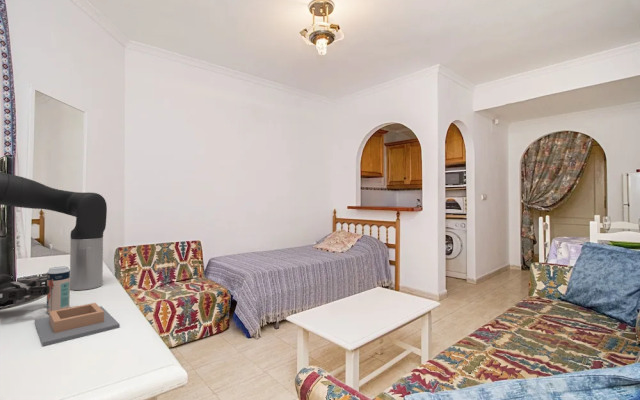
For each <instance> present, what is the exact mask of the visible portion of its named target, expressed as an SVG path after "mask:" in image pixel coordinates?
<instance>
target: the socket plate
mask: <svg viewBox="0 0 640 400" xmlns="http://www.w3.org/2000/svg"><path fill="white" fill-rule="evenodd" d="M34 325H35V328H36V330H37V334H38V336H39V339H40V343H41V346H42V347H45V346H50V345H54V344H58V343H62V342H66V341H70V340H74V339H78V338H81V337H82V338H83V337H86V336H90V335H95V334H99V333H103V332H107V331H110V330H114V329H118V328H120V322H118V321H117V320H116V319H115V318H114V317H113V316H112V315H111V314H110V313H109V312H108V311H107V310H106V309H105V308H104V307H103V306H101V305H98V304H97V303H96V302H92V303H86V304H81V305H76V306H72V307H70V306H69V308H65V309H60V310H54V311H49V313H48V316H45V317H41V318H36V319H34Z"/></svg>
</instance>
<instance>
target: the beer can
mask: <svg viewBox="0 0 640 400" xmlns="http://www.w3.org/2000/svg"><path fill="white" fill-rule="evenodd" d="M46 277H47V286H49V287H50V291H49V294H47V295H46V313H48V314H49V311H54V310H60V309H65V308H70V298H71V297H70V296H71V295H70V291H71V289H70V267H69V266H53V267H50V268H49V269H48V271H47V272H46Z"/></svg>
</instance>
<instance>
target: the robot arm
mask: <svg viewBox="0 0 640 400" xmlns="http://www.w3.org/2000/svg"><path fill="white" fill-rule="evenodd" d="M0 205H1V206H9V207H13V208H23V209H35V210H36V209H38V210H48V211H51V212H56V213H61V214H64V215H68V216H71V217H75V226H74V228H73V229H72V230H71V231H70V240H69V241H70V245H69V247H70V249H69V250H70V251H69V252H70V253H69V255H70V256H69V258H70V259H69V270H70V291H81V290H82V291H84V290H91V289H97V288H99V287H102V286H103V276H104V275H103V272H104V271H103V270H104V269H103V267H104V265H103V264H104V261H103V260H104V232H105V230H106V226H107V217H108V216H107V214H108V213H107V212H108V208H107V207H108V206H107V201H106V198H104V197H103V195H102V194H99V193H98V192H97V193H96V192H77V191H69V190H63V189H58V188H54V187H51V186H48V185H46V184H44V183H41V182H39V181H36V180H33V179H30V178H26V177H23V176H19V175H15V174H10V173H6V172H2V171H0ZM42 282H44V283H42ZM49 291H50V287H49V286H47V276H39V277H38V276H37V277H35V276H34V277H24V278H21V279H20V278H19V279H17V281H15V280H14V279H13V278H12V276H11V275H9V274H4V273H3V274H0V305H2V304H5V303H6V302H8V301H20V300H23V298H30V297H34V296H35V297H36V296H37V297H38V296H47V294H49Z"/></svg>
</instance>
